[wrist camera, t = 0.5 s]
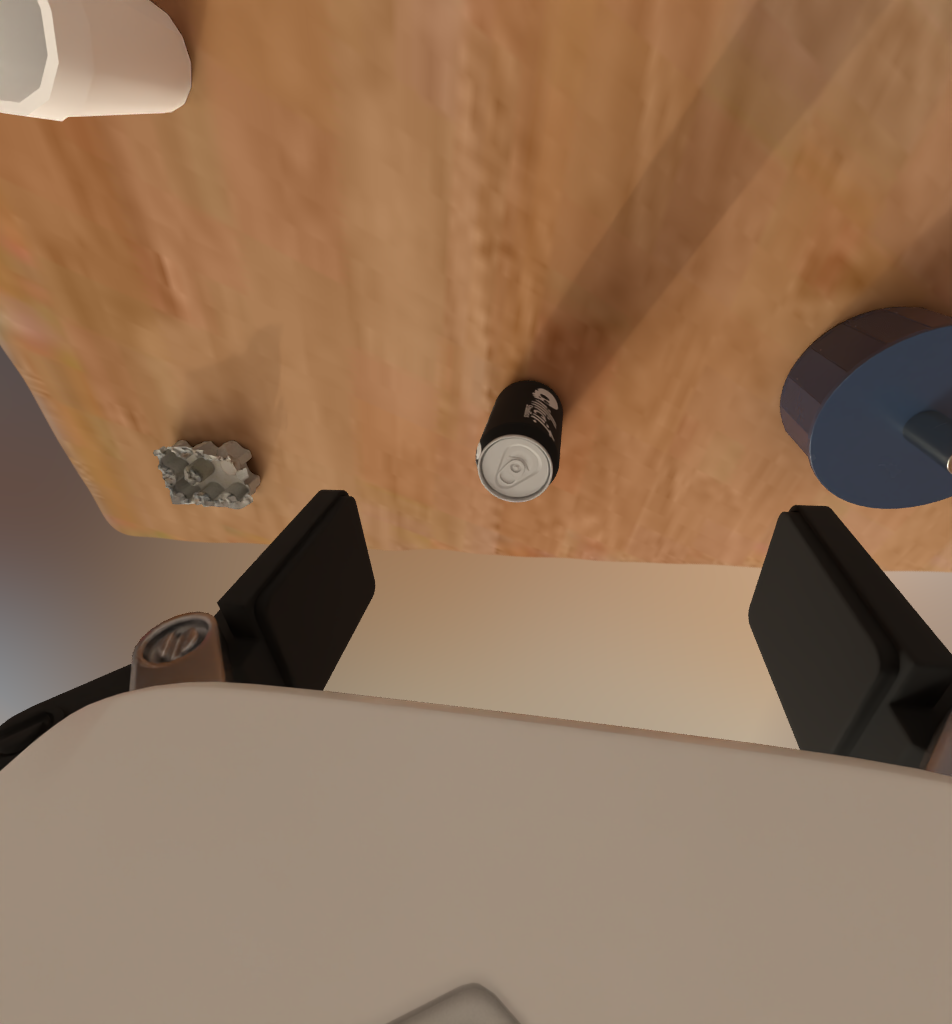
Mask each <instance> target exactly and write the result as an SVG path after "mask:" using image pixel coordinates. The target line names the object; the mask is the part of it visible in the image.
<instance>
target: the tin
mask: <svg viewBox="0 0 952 1024" xmlns="http://www.w3.org/2000/svg"><path fill="white" fill-rule="evenodd" d="M950 323H952V318H951V317H948V316H945V315H942V314H939V313H936V312H933V311H930V310H927V309H924V308H913V307H892V308H883V309H879V310H874V311H870V312H867V313H864V314H861V315H858V316H856V317H854V318H851V319H849V320H847V321H845V322H843V323H841V324H839V325H837V326H836V327H834V328H832V329H831V330H829V331H828V332H826V333H825V334H824V335H822V336H821V337H820V338H819V339H817V340H816V341H815V342H814V343H813V344H812V345H811V346H810V347H809V348H808V349H807V350H806V351H805V352H804V353H803V354H802V355H801V357H800V358H799V359H798V360H797V362H796V363H795V365H794V366H793V368H792V369H791V371H790V373H789V375H788V377H787V379H786V381H785V384H784V387H783V390H782V394H781V400H780V412H781V418H782V422H783V425H784V427H785V430H786V432H787V433H788V434H789V435H790V436H791V438H792V439H793V440H794V441H795V442H796V443H797V444H798V446H799V447H800V448H801V449H802V450H803V451H804V453H805V454H806V455H807V456H808V449H807V444H808V435H809V431H810V427H811V423H812V421H813V418H814V416H815V414H816V412H817V410H818V408H819V406H820V405H821V403H822V401H823V400H824V398H825V397H826V395H827V394H828V393H829V391H830V390H831V389H832V388H833V387H834V385H835V384H836V383H837V382H838V381H839V380H840V379H841V378H842V377H843V376H844V375H845V374H846V373H847V372H848V371H849V370H851V369H852V368H853V367H854V366H855V365H856V364H858V363H859V362H860V361H862V360H863V359H865V358H866V357H867V356H869V355H870V354H872V353H874V352H875V351H877V350H878V349H880V348H882V347H883V346H885V345H887V344H889V343H891V342H893V341H895V340H897V339H899V338H902V337H904V336H907V335H909V334H912V333H914V332H917V331H921V330H924V329H927V328H931V327H935V326H940V325H945V324H950Z"/></svg>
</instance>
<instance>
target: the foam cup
mask: <svg viewBox="0 0 952 1024" xmlns="http://www.w3.org/2000/svg"><path fill="white" fill-rule="evenodd" d="M190 89H191V61H190V58H189V55H188V52H187V49H186V46H185V43H184V39H183V37H182V35H181V34H180V32H179V31H178V29H177V28H176V26H175V24H174V23H173V21H172V20H171V18H170V17H169V15H168V14H167V13H165V12H164V11H163V10H162V9H160V8H159V7H158V6H156V5H155V4H154V3H152V2H151V1H150V0H0V113H7V114H14V115H21V116H28V117H35V118H42V119H50V120H57V121H63V120H65V119H66V118H67V117H76V116H101V115H126V114H151V113H166V112H173V111H174V110H176V109H177V108H179V107H181V106H182V105H184V104H185V101H186V99H187V96H188V94H189V91H190Z"/></svg>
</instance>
